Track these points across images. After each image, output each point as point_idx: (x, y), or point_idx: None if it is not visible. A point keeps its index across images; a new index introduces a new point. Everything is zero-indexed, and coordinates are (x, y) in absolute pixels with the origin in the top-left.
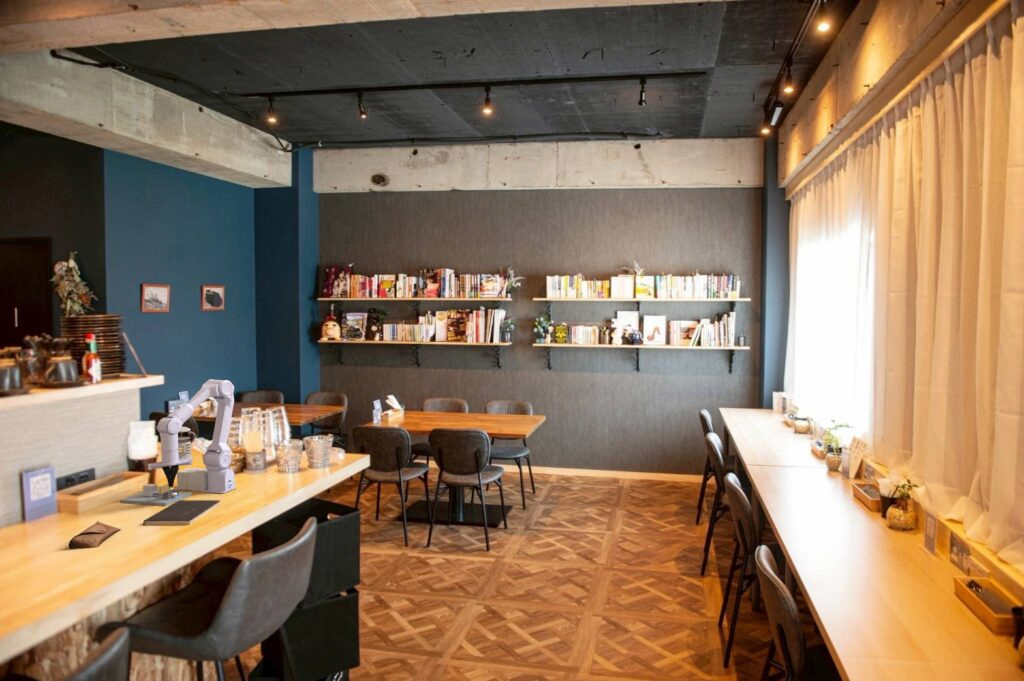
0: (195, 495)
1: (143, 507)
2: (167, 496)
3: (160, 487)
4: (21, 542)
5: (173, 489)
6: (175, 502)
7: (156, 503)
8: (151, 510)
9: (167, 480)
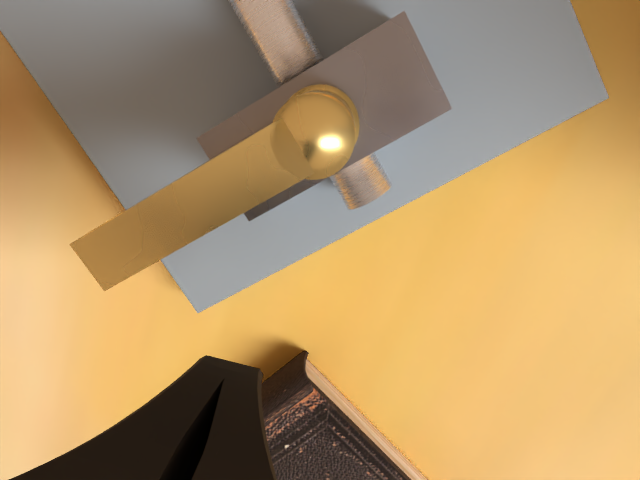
0: (622, 133)
1: (13, 181)
2: None
3: (98, 270)
4: None
5: (358, 138)
6: None
7: None
8: (60, 343)
9: (156, 398)
